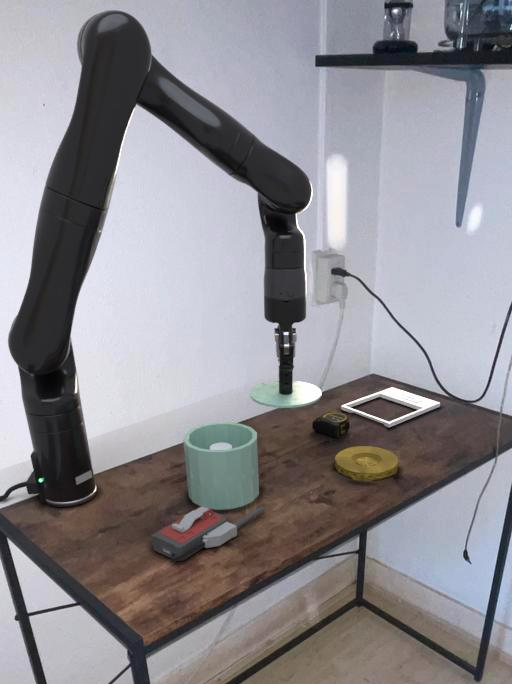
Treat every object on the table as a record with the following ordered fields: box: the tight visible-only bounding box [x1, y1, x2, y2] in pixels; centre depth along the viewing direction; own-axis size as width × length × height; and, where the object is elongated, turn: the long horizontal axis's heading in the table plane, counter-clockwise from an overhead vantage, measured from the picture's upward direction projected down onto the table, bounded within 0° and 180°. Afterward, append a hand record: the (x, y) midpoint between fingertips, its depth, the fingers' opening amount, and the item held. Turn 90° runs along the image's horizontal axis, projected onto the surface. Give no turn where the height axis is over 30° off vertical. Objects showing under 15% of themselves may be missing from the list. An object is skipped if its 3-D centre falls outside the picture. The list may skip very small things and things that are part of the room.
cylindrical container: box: [182, 421, 260, 511], centre depth 121 cm, size 13×13×12 cm
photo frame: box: [340, 386, 441, 428], centre depth 159 cm, size 15×1×18 cm
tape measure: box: [312, 411, 351, 439], centre depth 147 cm, size 7×7×4 cm
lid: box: [249, 369, 322, 409], centre depth 129 cm, size 14×14×6 cm
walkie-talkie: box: [151, 506, 265, 562], centre depth 111 cm, size 9×4×20 cm
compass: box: [334, 445, 399, 482], centre depth 132 cm, size 12×12×2 cm
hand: (285, 385), depth 130 cm, fingers closed on lid, 2 cm apart
